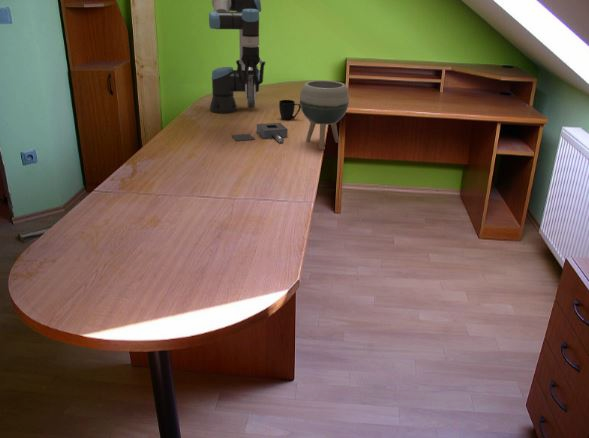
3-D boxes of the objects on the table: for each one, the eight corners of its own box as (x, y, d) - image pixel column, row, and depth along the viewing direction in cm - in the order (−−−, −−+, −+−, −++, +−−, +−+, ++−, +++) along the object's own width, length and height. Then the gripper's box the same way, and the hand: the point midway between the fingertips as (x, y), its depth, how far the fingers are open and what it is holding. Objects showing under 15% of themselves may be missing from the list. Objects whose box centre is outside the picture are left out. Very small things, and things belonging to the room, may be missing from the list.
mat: (231, 135, 261) (231, 134, 261) (249, 134, 264) (249, 133, 263) (236, 141, 253) (236, 140, 253) (254, 139, 256) (254, 138, 256)
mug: (296, 122, 286) (296, 104, 282) (276, 119, 291) (276, 101, 287) (303, 119, 293) (303, 101, 289) (283, 116, 297) (283, 99, 293)
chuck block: (256, 132, 268) (256, 124, 266) (279, 130, 272) (279, 122, 270) (269, 144, 250) (269, 136, 248) (293, 142, 254) (293, 134, 252)
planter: (350, 140, 259) (355, 82, 247) (338, 154, 240) (343, 91, 228) (306, 135, 265) (309, 77, 253) (291, 148, 246) (293, 86, 234)
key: (246, 108, 251) (245, 76, 245) (249, 105, 257) (248, 74, 251) (253, 108, 251) (253, 77, 245) (256, 105, 256) (256, 74, 250)
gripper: (230, 46, 240) (231, 99, 250) (267, 48, 238) (266, 101, 248) (235, 44, 247) (235, 95, 257) (270, 45, 245) (269, 97, 254)
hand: (251, 98), depth 252 cm, fingers closed on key, 3 cm apart
